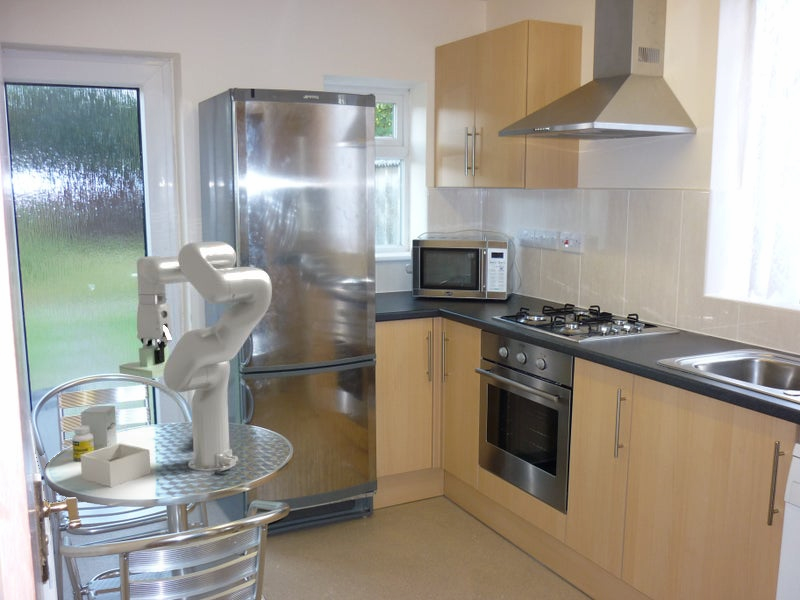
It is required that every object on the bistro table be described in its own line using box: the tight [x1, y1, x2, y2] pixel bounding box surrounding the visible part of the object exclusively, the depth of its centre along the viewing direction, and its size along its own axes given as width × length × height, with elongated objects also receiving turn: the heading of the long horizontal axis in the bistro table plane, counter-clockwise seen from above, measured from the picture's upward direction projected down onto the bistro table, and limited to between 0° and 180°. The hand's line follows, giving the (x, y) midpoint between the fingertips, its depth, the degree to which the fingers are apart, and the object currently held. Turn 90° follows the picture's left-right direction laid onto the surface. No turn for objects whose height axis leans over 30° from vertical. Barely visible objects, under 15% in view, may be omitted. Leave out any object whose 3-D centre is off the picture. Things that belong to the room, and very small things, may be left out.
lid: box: [118, 343, 170, 380], centre depth 220 cm, size 14×14×7 cm
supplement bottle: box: [71, 424, 94, 463], centre depth 211 cm, size 5×5×10 cm
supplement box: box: [80, 405, 118, 451], centre depth 220 cm, size 7×7×13 cm
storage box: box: [80, 442, 151, 488], centre depth 197 cm, size 12×12×7 cm
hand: (155, 361), depth 220 cm, fingers closed on lid, 3 cm apart
